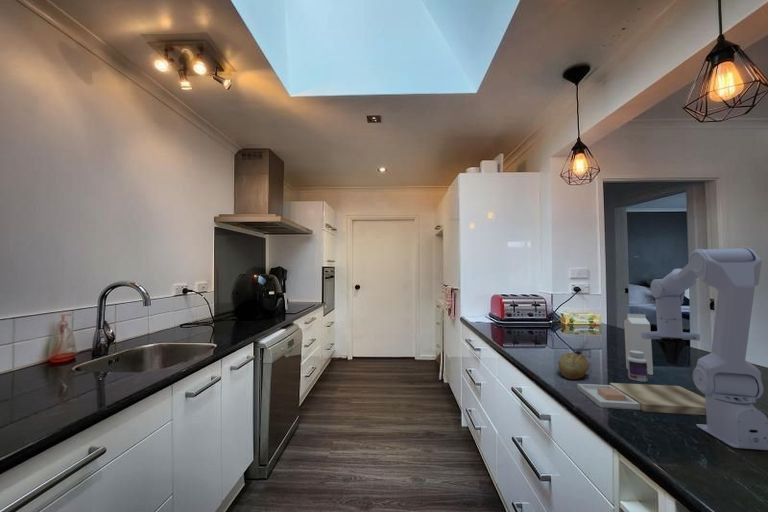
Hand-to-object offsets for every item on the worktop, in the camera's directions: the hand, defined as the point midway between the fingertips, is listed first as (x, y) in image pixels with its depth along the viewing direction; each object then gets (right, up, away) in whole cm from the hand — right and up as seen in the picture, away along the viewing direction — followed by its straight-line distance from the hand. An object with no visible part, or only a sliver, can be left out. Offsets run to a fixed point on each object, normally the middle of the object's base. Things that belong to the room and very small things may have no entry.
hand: (671, 363), depth 91 cm
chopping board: (-5, -10, -3) cm, 12 cm away
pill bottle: (+3, -12, +15) cm, 19 cm away
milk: (+10, -12, +23) cm, 28 cm away
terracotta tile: (-19, -10, 0) cm, 22 cm away
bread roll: (-17, -12, +20) cm, 29 cm away
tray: (-20, -11, 0) cm, 23 cm away
